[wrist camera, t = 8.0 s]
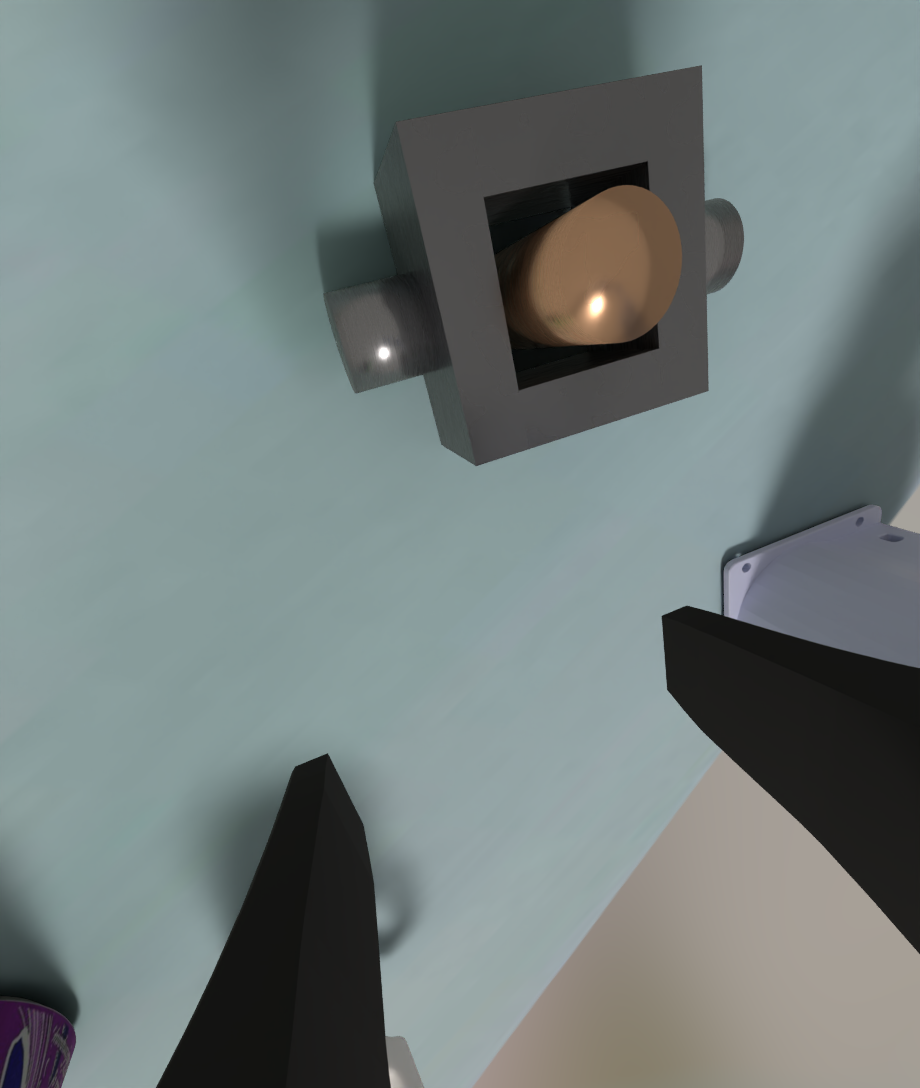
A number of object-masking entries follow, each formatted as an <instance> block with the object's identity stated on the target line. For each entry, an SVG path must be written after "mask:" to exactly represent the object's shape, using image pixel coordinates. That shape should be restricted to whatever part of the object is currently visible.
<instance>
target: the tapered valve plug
mask: <svg viewBox="0 0 920 1088" xmlns="http://www.w3.org/2000/svg"><path fill="white" fill-rule="evenodd" d="M494 258H495V263H496V269H497V274H498V280H499V285H500V291H501V296H502V302H503V307H504V313H505V318H506V324H507V329H508V335H509V340H510V346H511V349H534V348H549V347H564V346H579V345H594V344H609V343H622V342H627V341H631V340H634V339H636V338H638V337H640V336H642V335H644V334H645V333H647V332H648V331H649V330H651V329H652V328H653V327H654V326H655V325H656V324H657V323H658V322H659V321H660V319H661V318H662V317H663V316H664V314H665V313H666V311H667V310H668V308H669V306H670V304H671V303H672V300H673V298H674V296H675V293H676V290H677V287H678V284H679V279H680V275H681V267H682V246H681V240H680V234H679V231H678V227H677V225H676V222H675V220H674V217H673V216H672V214H671V212H670V210H669V209H668V207H667V206H666V205H665V204H664V202H663V201H662V200H661V199H660V198H659V197H658V196H656V195H655V194H653V193H652V192H651V191H649V190H646V189H644V188H642V187H638V186H633V185H622V186H616V187H612V188H609V189H607V190H605V191H603V192H601V193H599V194H598V195H596V196H594V197H592V198H591V199H589V200H587V201H586V202H584V203H582V204H580V205H579V206H577V207H575V208H574V209H572V210H570V211H569V212H567V213H565V214H563V215H562V216H560V217H558V218H557V219H555V220H553V221H551V222H550V223H548V224H546V225H545V226H543V227H541V228H540V229H538V230H536V231H534V232H533V233H531V234H529V235H528V236H526V237H524V238H522V239H521V240H519V241H517V242H516V243H514V244H512V245H511V246H509V247H507V248H505V249H504V250H502V251H500V252H499V253H497V254H496V255H495V256H494Z"/></svg>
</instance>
